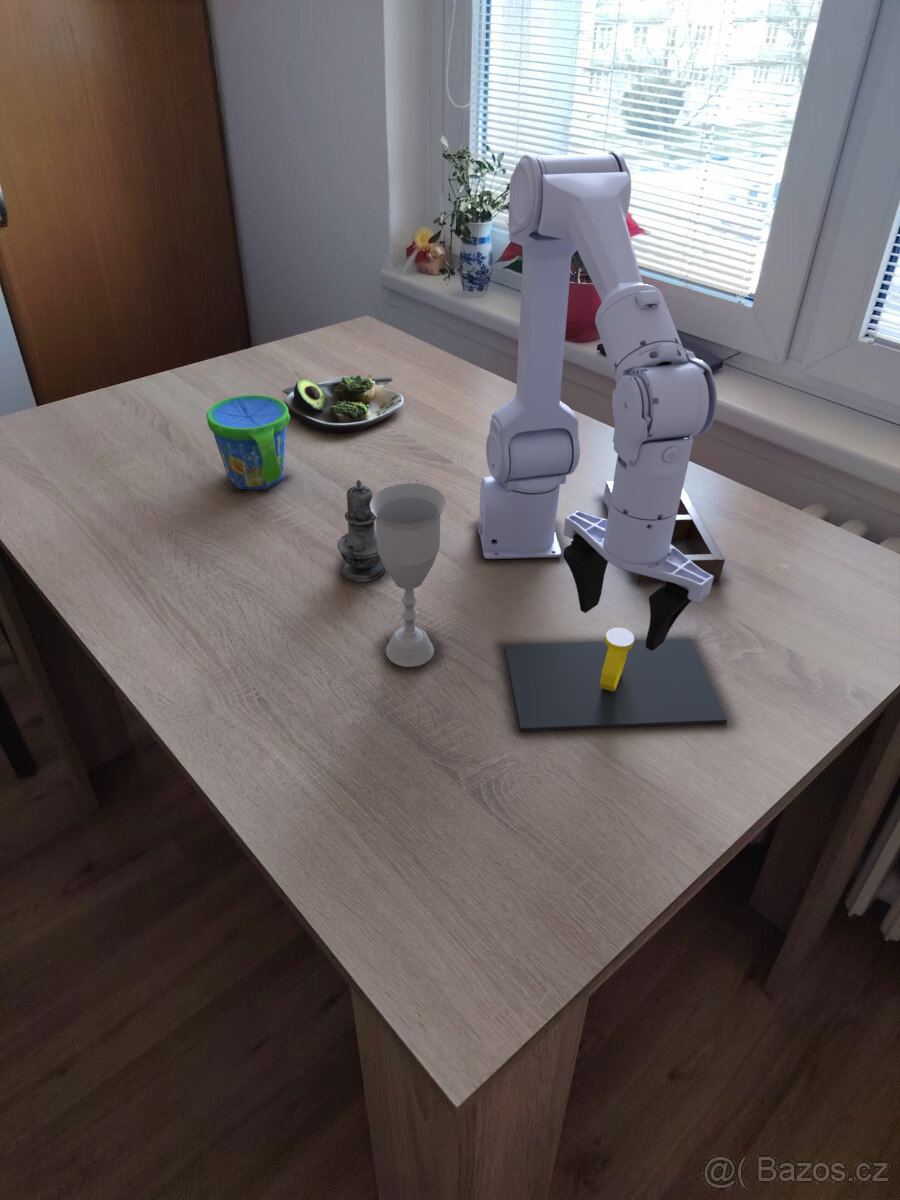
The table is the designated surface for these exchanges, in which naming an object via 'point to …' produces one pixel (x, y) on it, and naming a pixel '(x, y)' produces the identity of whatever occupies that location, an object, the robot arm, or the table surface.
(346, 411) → the avocado toast plate
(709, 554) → the compartment tray
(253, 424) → the snack cup
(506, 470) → the robot arm
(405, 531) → the chalice
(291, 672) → the table surface
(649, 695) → the mat
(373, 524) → the salt shaker
